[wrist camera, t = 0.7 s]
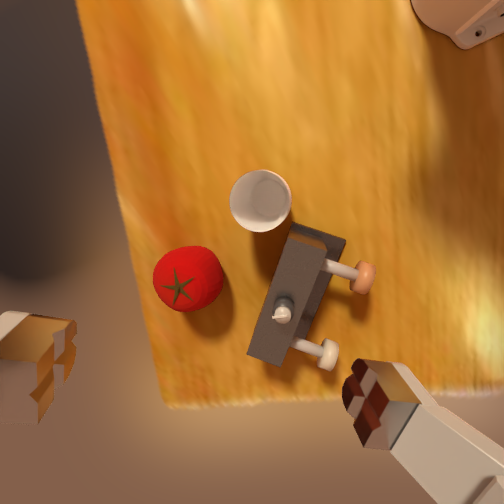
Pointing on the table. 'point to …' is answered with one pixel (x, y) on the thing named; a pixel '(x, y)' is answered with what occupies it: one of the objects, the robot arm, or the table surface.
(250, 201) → the cup
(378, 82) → the table surface
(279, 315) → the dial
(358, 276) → the knob
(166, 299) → the tomato
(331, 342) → the knob
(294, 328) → the mount
